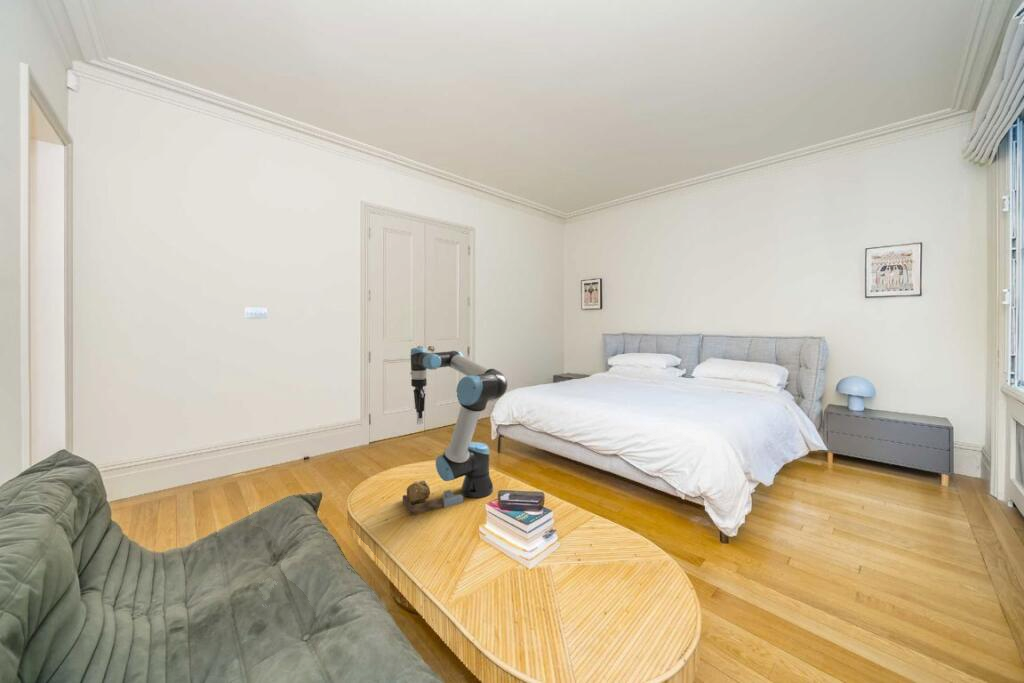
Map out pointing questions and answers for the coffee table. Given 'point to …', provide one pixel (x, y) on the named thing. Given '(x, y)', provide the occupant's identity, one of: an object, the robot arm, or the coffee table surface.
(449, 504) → the t block
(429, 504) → the brown l-shaped block
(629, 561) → the coffee table surface
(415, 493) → the rock
